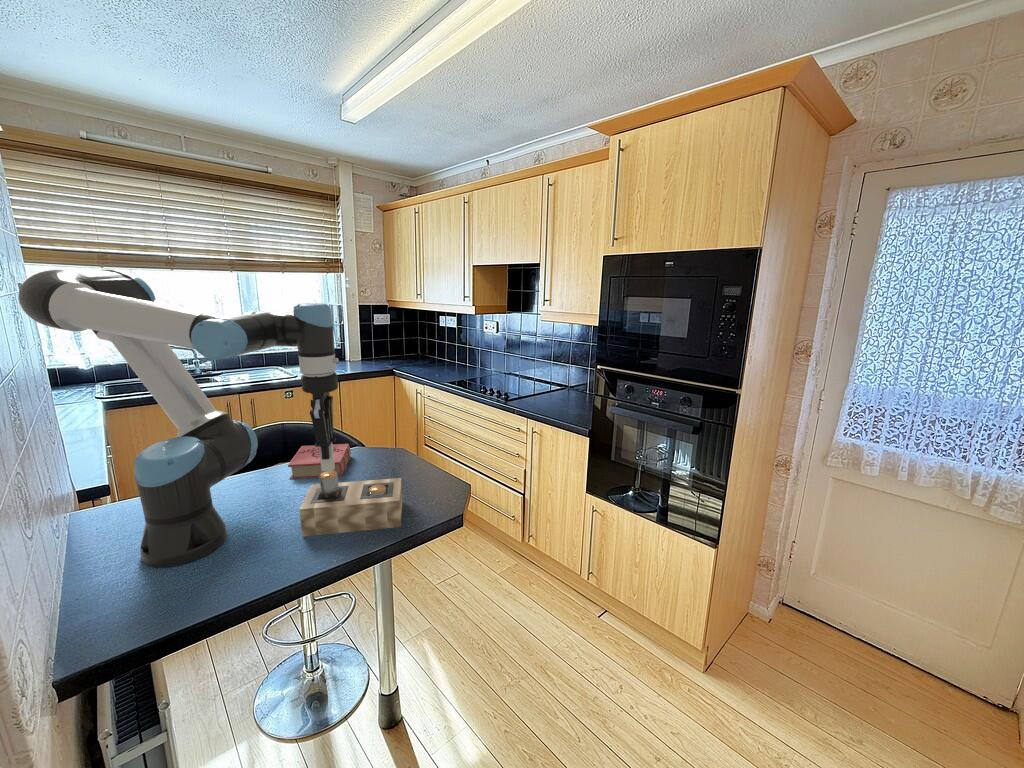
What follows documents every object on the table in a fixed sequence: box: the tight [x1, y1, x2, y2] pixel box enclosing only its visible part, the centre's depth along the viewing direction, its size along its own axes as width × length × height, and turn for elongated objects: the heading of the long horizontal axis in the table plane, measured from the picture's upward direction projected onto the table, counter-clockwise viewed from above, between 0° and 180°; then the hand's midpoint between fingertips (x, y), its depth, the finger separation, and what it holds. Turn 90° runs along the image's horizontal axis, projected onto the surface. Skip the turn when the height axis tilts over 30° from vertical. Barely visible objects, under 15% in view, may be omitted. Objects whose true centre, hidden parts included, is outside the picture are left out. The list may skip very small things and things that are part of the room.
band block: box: [299, 477, 403, 538], centre depth 106 cm, size 22×12×7 cm, turn 102°
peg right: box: [369, 485, 386, 496], centre depth 107 cm, size 4×4×7 cm
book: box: [287, 443, 352, 480], centre depth 134 cm, size 14×15×5 cm
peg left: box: [318, 471, 340, 500], centre depth 104 cm, size 4×4×7 cm
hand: (328, 469), depth 103 cm, fingers closed
